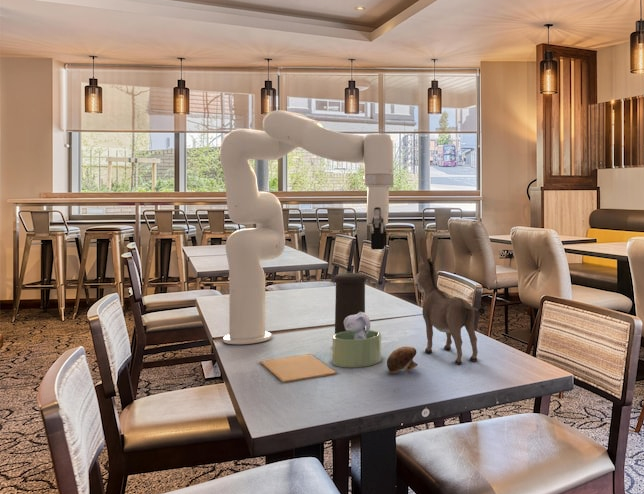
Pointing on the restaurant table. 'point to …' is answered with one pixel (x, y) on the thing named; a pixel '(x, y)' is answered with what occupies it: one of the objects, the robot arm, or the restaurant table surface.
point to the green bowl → (356, 349)
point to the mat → (297, 368)
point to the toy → (444, 307)
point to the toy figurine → (357, 325)
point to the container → (348, 297)
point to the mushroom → (401, 359)
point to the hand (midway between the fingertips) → (379, 247)
